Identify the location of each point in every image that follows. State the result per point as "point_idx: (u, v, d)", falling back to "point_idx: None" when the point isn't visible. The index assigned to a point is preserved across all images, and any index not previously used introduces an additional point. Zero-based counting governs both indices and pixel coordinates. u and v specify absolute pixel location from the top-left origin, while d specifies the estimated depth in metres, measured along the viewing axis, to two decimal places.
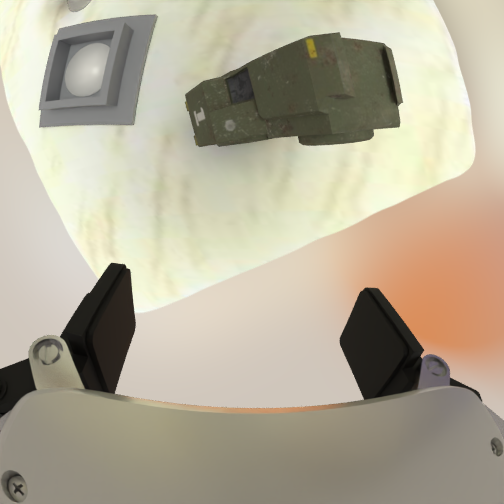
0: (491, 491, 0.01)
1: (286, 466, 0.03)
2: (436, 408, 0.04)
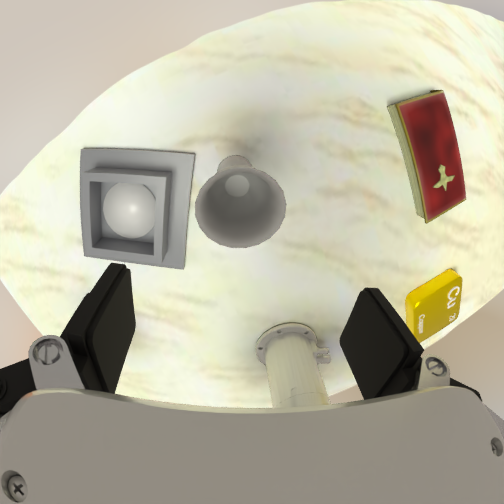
0: (491, 491, 0.01)
1: (286, 466, 0.03)
2: (436, 408, 0.04)
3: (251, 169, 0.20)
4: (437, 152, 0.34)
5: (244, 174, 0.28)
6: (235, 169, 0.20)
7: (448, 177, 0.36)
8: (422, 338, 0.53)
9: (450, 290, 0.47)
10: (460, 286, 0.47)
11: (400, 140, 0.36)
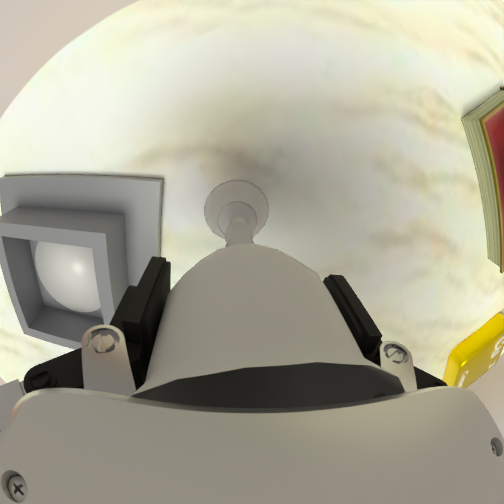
0: (491, 491, 0.01)
1: (286, 466, 0.03)
2: (436, 408, 0.04)
3: (318, 360, 0.04)
4: None
5: None
6: (243, 362, 0.04)
7: None
8: None
9: (498, 340, 0.31)
10: None
11: (478, 168, 0.20)
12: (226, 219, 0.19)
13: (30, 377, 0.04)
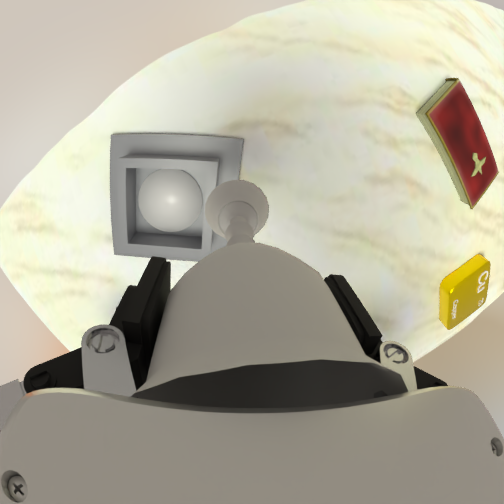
0: (491, 491, 0.01)
1: (286, 466, 0.03)
2: (437, 408, 0.04)
3: (322, 357, 0.04)
4: (468, 142, 0.31)
5: None
6: None
7: (481, 161, 0.33)
8: (454, 323, 0.50)
9: (480, 275, 0.44)
10: (488, 270, 0.44)
11: (434, 142, 0.34)
12: (227, 218, 0.19)
13: (30, 377, 0.04)
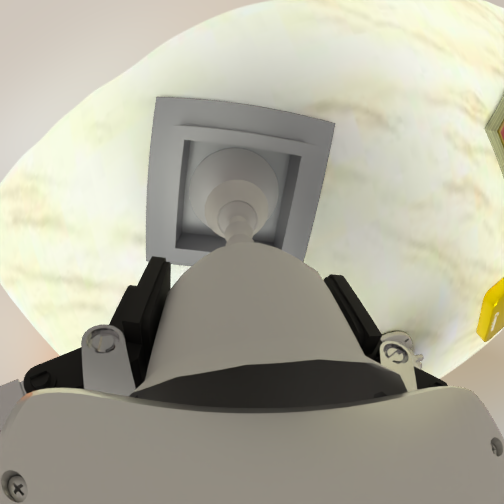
0: (491, 491, 0.01)
1: (286, 466, 0.03)
2: (437, 408, 0.04)
3: None
4: None
5: None
6: None
7: None
8: (491, 336, 0.42)
9: None
10: None
11: (498, 157, 0.27)
12: (226, 218, 0.19)
13: (30, 377, 0.04)
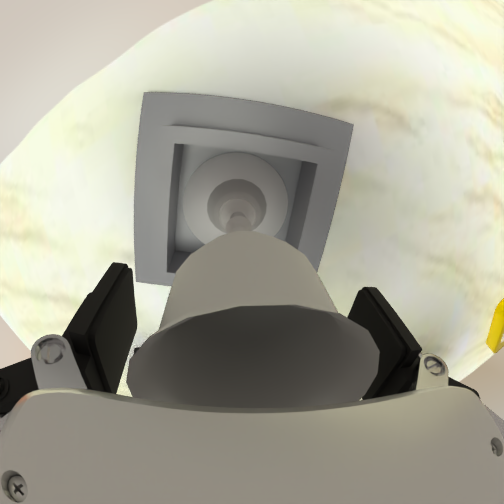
0: (491, 491, 0.01)
1: (286, 466, 0.03)
2: (437, 408, 0.04)
3: (297, 306, 0.06)
4: None
5: None
6: (238, 306, 0.06)
7: None
8: (500, 347, 0.38)
9: None
10: None
11: None
12: (227, 214, 0.20)
13: None
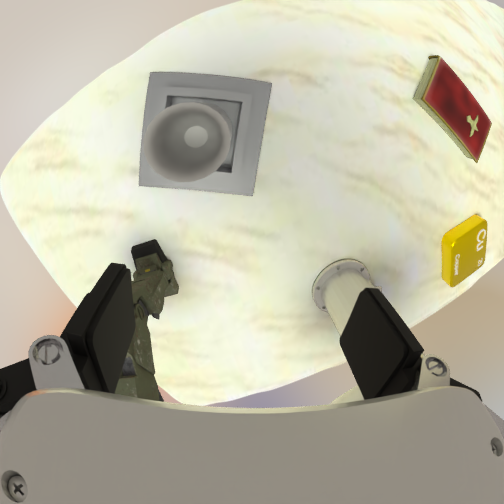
0: (491, 491, 0.01)
1: (286, 466, 0.03)
2: (436, 408, 0.04)
3: (195, 104, 0.19)
4: (460, 109, 0.34)
5: (201, 124, 0.27)
6: (180, 105, 0.19)
7: (475, 120, 0.35)
8: (457, 281, 0.53)
9: (479, 232, 0.47)
10: (486, 230, 0.47)
11: (433, 117, 0.38)
12: None
13: None
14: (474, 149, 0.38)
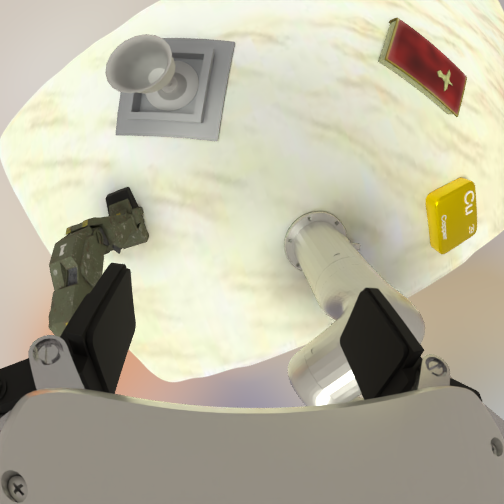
0: (491, 491, 0.01)
1: (286, 466, 0.03)
2: (437, 408, 0.04)
3: (147, 36, 0.19)
4: (429, 65, 0.34)
5: (162, 64, 0.27)
6: (136, 38, 0.19)
7: (447, 75, 0.34)
8: (446, 247, 0.52)
9: (466, 193, 0.46)
10: (474, 192, 0.46)
11: (403, 77, 0.38)
12: None
13: None
14: (452, 103, 0.37)
